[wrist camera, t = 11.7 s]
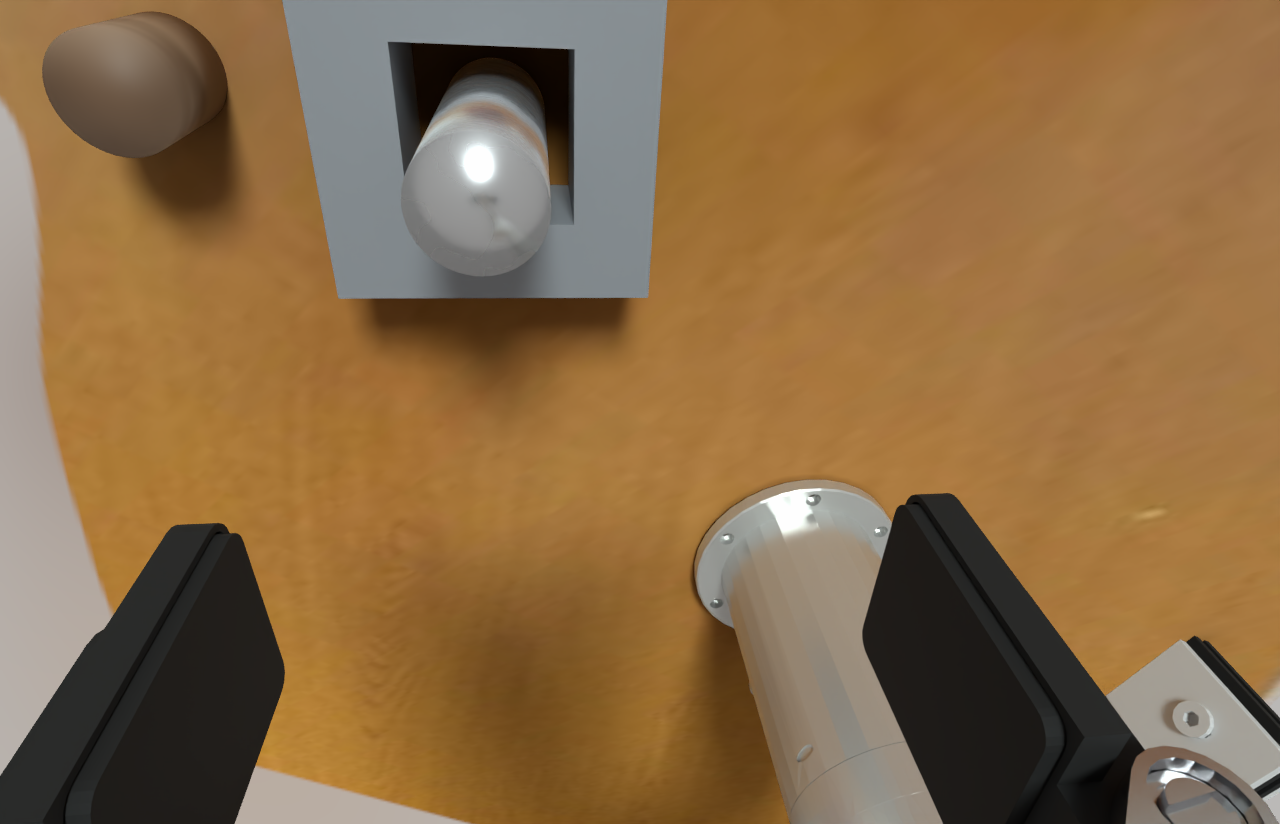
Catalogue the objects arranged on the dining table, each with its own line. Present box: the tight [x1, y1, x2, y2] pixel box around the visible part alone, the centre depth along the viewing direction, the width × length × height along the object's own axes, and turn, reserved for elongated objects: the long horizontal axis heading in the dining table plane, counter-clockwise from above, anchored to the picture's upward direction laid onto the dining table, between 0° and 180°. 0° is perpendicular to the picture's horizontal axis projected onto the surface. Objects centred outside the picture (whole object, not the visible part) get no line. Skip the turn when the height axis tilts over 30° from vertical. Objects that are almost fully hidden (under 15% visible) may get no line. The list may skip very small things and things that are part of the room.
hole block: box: [282, 0, 667, 299], centre depth 28 cm, size 12×12×5 cm
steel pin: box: [401, 58, 551, 276], centre depth 25 cm, size 4×4×12 cm
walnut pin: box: [42, 12, 227, 158], centre depth 26 cm, size 4×4×4 cm
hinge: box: [1106, 636, 1280, 801], centre depth 56 cm, size 14×5×10 cm, turn 163°
